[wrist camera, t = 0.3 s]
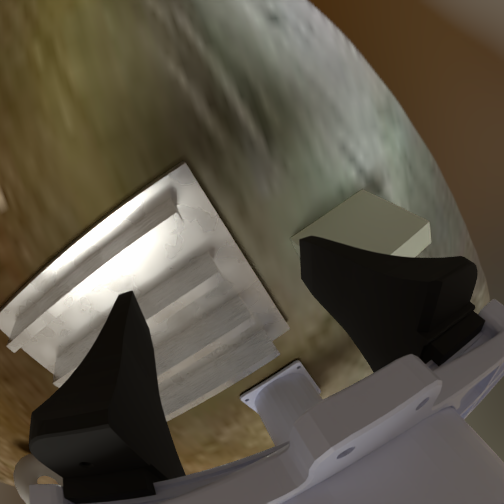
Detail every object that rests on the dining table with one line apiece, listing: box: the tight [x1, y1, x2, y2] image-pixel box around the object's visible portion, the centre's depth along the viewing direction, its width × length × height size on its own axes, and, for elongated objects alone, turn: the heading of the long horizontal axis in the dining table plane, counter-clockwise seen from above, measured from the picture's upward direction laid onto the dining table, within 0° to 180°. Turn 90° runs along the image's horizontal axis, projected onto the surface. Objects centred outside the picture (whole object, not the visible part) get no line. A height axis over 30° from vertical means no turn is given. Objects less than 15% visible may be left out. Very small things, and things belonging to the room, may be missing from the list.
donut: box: [13, 454, 63, 504], centre depth 23 cm, size 10×3×10 cm, turn 53°
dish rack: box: [0, 161, 290, 422], centre depth 22 cm, size 18×20×4 cm
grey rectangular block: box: [290, 190, 431, 257], centre depth 23 cm, size 2×8×8 cm, turn 118°
